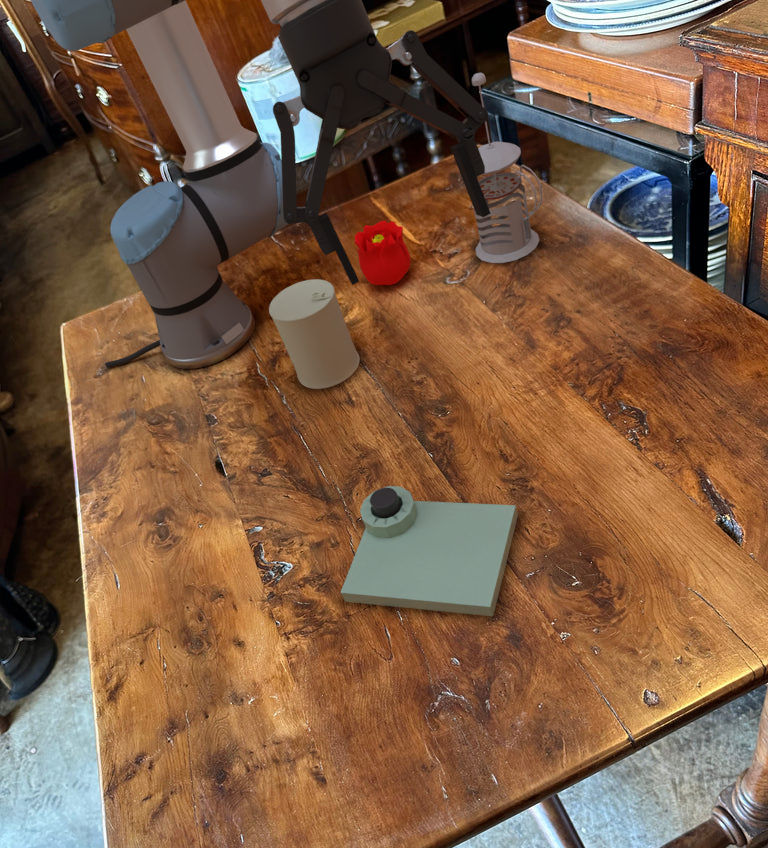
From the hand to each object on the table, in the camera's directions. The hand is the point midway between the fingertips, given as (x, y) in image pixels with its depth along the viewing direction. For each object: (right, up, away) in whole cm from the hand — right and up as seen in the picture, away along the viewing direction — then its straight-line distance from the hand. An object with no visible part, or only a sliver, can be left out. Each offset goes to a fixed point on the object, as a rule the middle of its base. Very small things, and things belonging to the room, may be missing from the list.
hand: (418, 248), depth 75 cm
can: (-11, -5, +37) cm, 39 cm away
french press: (+16, +16, +45) cm, 51 cm away
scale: (+2, -30, +9) cm, 31 cm away
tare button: (-3, -25, +11) cm, 27 cm away
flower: (-2, +11, +48) cm, 50 cm away
